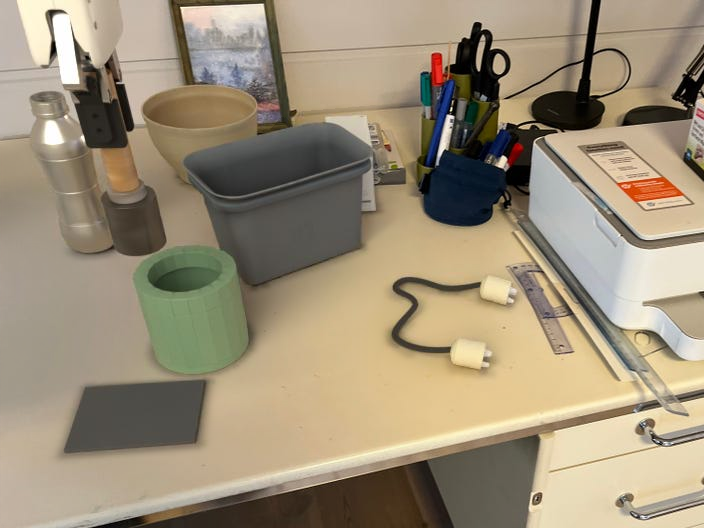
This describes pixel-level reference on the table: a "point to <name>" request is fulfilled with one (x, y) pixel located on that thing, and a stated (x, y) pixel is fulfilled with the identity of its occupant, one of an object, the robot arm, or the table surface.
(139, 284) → the jar
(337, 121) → the cosmetics box
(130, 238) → the brush
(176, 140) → the planter bowl
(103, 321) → the table surface
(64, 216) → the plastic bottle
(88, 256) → the table surface
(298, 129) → the storage bin
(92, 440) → the mat
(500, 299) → the cable
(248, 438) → the table surface
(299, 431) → the table surface
